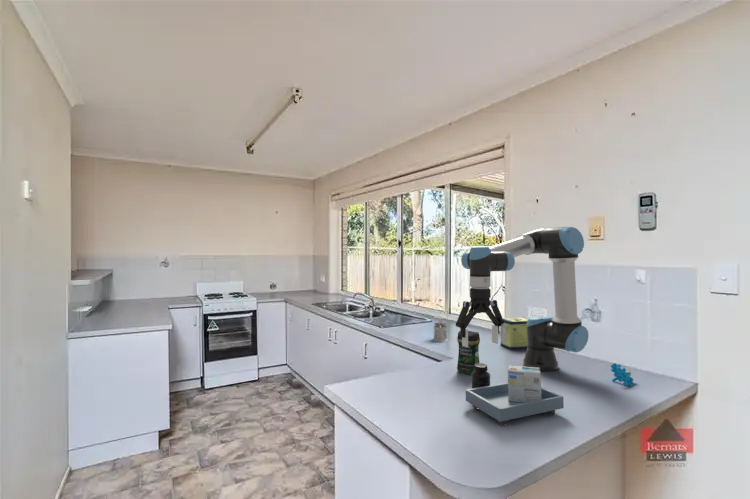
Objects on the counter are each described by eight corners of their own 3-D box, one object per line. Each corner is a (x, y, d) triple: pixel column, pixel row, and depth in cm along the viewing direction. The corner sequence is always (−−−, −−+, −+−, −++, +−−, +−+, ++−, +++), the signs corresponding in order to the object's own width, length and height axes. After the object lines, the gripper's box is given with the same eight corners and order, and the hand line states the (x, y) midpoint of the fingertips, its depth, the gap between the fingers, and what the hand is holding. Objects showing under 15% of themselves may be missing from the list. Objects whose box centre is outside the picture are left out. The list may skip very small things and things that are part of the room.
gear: (625, 385, 152) (608, 362, 158) (613, 392, 155) (597, 369, 162) (641, 384, 156) (624, 362, 163) (629, 391, 160) (614, 369, 167)
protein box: (535, 348, 215) (535, 320, 215) (510, 350, 212) (509, 321, 212) (524, 343, 225) (524, 317, 225) (499, 345, 222) (499, 318, 222)
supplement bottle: (469, 393, 148) (468, 362, 148) (486, 393, 149) (486, 361, 149) (475, 400, 141) (474, 367, 141) (493, 400, 142) (493, 367, 142)
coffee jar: (454, 372, 174) (454, 331, 174) (462, 368, 180) (462, 328, 180) (474, 376, 168) (474, 333, 168) (482, 372, 174) (482, 330, 174)
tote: (465, 407, 135) (465, 389, 135) (524, 396, 145) (523, 379, 145) (500, 429, 119) (500, 409, 119) (563, 415, 128) (563, 396, 128)
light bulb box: (540, 397, 135) (540, 367, 135) (541, 405, 129) (541, 372, 129) (508, 394, 139) (507, 364, 139) (507, 401, 132) (507, 369, 132)
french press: (432, 341, 233) (431, 299, 233) (432, 336, 244) (432, 297, 244) (448, 341, 231) (448, 300, 231) (448, 337, 243) (448, 297, 243)
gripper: (457, 290, 137) (457, 350, 137) (513, 287, 146) (513, 343, 146) (446, 288, 144) (446, 345, 144) (500, 285, 153) (500, 339, 153)
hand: (480, 344), depth 145 cm, fingers open, 13 cm apart
